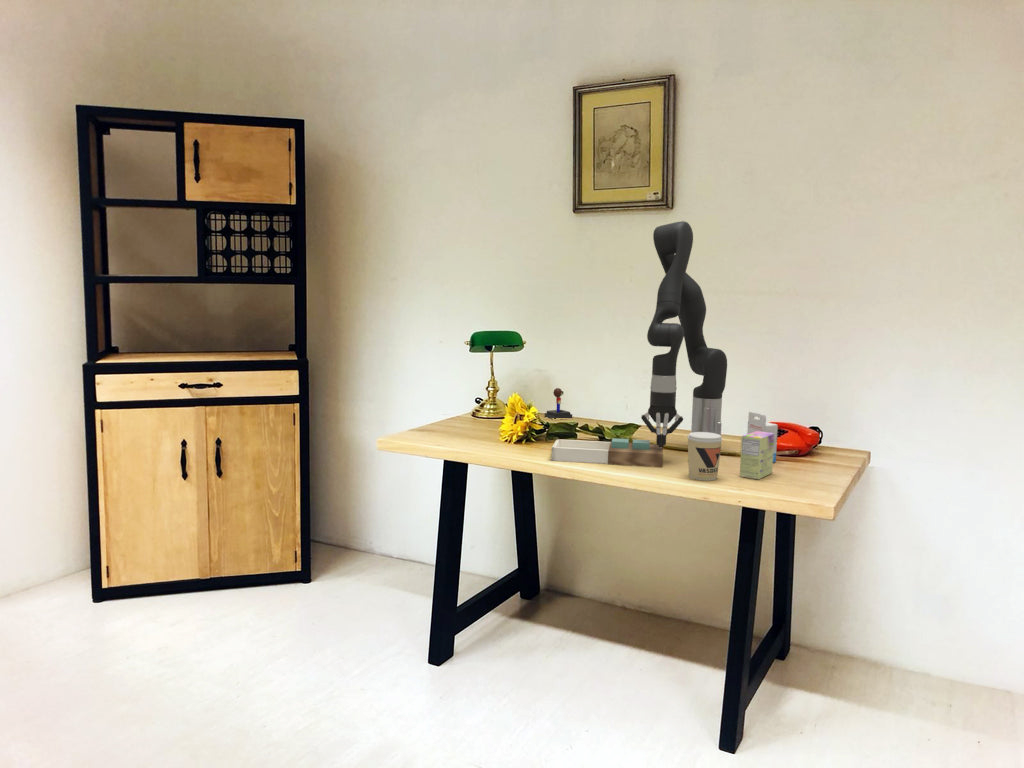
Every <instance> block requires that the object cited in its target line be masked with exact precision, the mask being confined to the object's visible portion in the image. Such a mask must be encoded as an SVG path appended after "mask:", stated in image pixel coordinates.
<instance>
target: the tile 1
mask: <svg viewBox="0 0 1024 768" xmlns="http://www.w3.org/2000/svg"><path fill="white" fill-rule="evenodd" d="M629 440H630V439H629V438H613V437H612V440H611V442H612V445H611V448H621V449H628V446H629V443H630V441H629Z"/></svg>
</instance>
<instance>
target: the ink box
mask: <svg viewBox="0 0 1024 768" xmlns="http://www.w3.org/2000/svg"><path fill="white" fill-rule="evenodd" d="M747 417H748V421H747V431H746V434H749V433H752V432H755V431H760V432H768V433H774V446H773V463H776V462H777V445H778V444H777V442H778V429H779V428H778V424H776V423H771V422H767V416H766V415H765V414H761V413H758V412H757V413H756V412H753V411H749V412H748V416H747ZM755 417H757V418H755ZM758 418H759V419H758Z"/></svg>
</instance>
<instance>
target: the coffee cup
mask: <svg viewBox="0 0 1024 768" xmlns="http://www.w3.org/2000/svg"><path fill="white" fill-rule="evenodd" d="M722 442H723V437H722V434H721V435H719V434H716V433H710V432H692V433H691V432H690V433H688V435H687V452H688V453H687V454H688V455H687V457H688V458H687V459H688V477H689V479H693V480H697V481H715V480H717V479H718V473H719V466H720V457H721V451H722V449H721V448H722Z"/></svg>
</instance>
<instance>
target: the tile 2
mask: <svg viewBox="0 0 1024 768" xmlns="http://www.w3.org/2000/svg"><path fill="white" fill-rule="evenodd" d="M650 441H651V440H649V439H632V443H633V447H632V449H640V450H649V444H651V443H650Z"/></svg>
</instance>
